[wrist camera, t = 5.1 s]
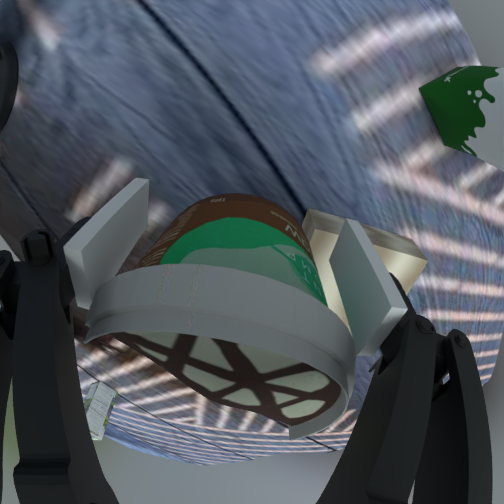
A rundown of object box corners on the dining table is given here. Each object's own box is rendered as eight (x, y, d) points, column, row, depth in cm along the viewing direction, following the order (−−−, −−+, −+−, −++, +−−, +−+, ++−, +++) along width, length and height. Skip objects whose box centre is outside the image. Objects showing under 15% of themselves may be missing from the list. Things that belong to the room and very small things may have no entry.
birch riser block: (271, 302, 36) (272, 330, 32) (307, 206, 29) (315, 228, 24) (363, 317, 37) (371, 343, 33) (410, 237, 30) (428, 260, 26)
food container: (363, 270, 18) (404, 408, 10) (292, 312, 20) (296, 442, 12) (234, 124, 13) (166, 221, 5) (160, 198, 15) (70, 333, 7)
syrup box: (108, 395, 57) (93, 441, 45) (90, 383, 55) (72, 429, 43) (118, 392, 55) (102, 441, 43) (99, 379, 53) (80, 429, 41)
